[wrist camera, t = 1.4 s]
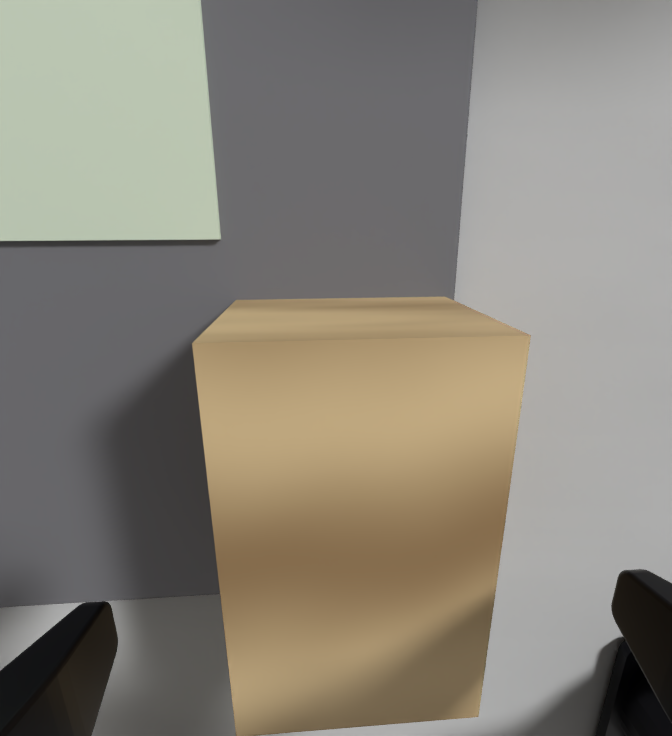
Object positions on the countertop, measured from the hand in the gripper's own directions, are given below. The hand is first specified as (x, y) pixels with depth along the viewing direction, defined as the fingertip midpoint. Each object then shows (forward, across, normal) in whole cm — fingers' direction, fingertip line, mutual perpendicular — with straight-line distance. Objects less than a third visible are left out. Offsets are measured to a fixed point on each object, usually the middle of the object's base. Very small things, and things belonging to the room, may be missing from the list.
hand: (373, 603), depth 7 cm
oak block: (+5, 0, 0) cm, 5 cm away
